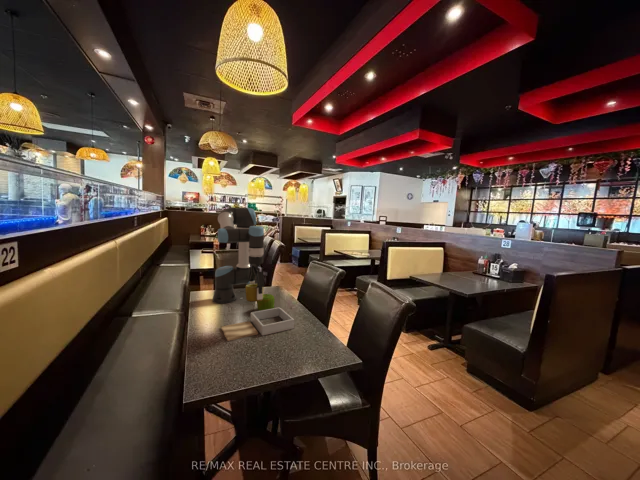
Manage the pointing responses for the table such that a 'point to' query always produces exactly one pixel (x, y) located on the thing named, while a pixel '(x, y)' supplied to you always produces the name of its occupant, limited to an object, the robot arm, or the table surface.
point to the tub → (272, 327)
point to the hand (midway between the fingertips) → (255, 295)
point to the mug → (252, 293)
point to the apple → (266, 302)
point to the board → (238, 330)
